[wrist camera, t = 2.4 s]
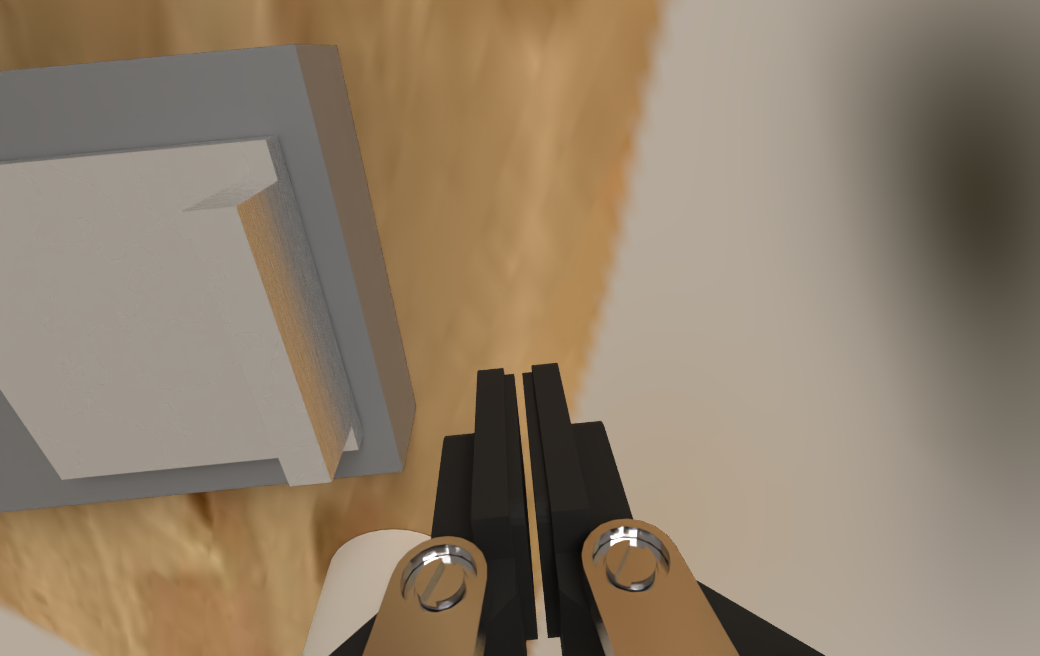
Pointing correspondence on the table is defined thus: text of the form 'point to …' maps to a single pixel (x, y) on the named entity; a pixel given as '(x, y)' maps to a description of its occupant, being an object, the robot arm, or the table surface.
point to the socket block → (321, 202)
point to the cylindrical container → (356, 586)
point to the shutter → (168, 313)
